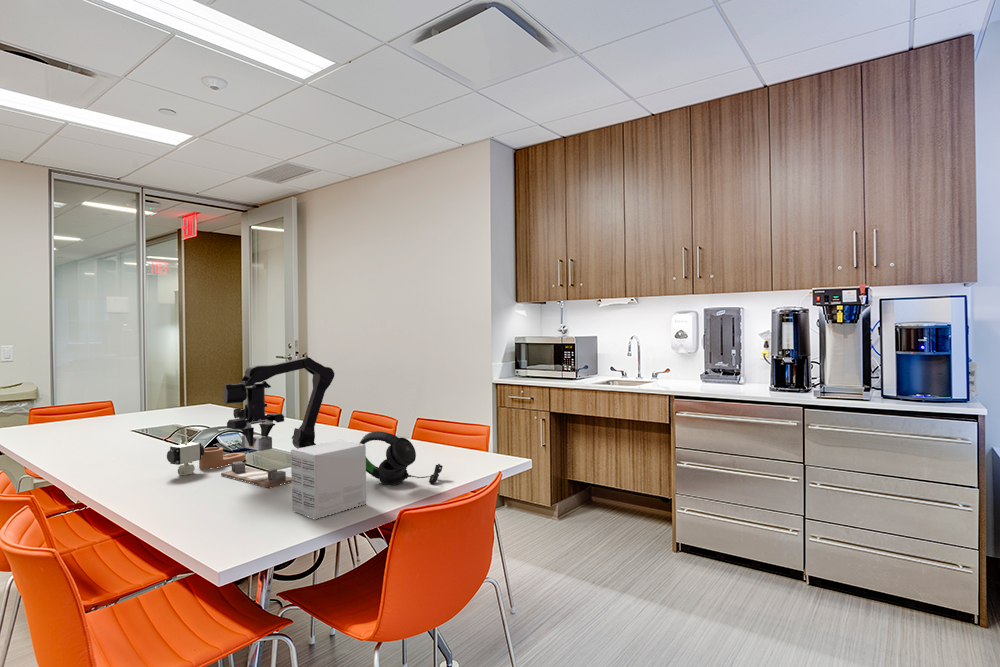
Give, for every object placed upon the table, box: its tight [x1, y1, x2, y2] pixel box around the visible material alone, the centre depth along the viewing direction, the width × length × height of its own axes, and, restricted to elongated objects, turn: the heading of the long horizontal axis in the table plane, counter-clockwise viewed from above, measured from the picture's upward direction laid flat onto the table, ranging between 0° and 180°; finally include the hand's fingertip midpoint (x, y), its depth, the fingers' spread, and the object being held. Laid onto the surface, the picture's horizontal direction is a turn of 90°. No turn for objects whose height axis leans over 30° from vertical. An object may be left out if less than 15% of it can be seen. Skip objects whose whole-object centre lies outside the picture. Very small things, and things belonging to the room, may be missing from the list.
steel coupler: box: [241, 433, 273, 452], centre depth 193 cm, size 12×4×4 cm, turn 55°
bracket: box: [198, 446, 246, 470], centre depth 216 cm, size 18×8×7 cm, turn 152°
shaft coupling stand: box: [220, 461, 292, 488], centre depth 193 cm, size 30×10×4 cm, turn 55°
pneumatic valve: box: [166, 441, 205, 476], centre depth 200 cm, size 6×12×12 cm, turn 155°
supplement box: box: [290, 439, 367, 520], centre depth 159 cm, size 17×13×18 cm
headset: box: [359, 430, 443, 486], centre depth 185 cm, size 18×14×29 cm
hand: (256, 445), depth 193 cm, fingers closed on steel coupler, 4 cm apart
